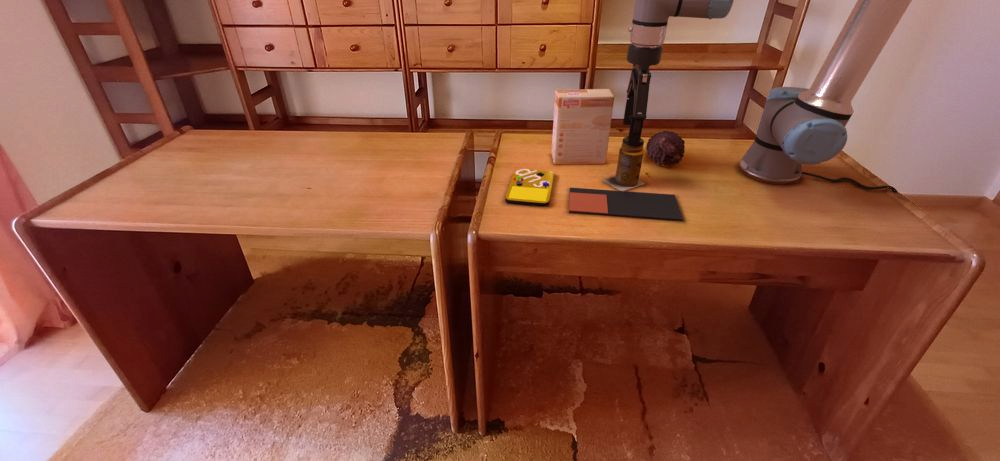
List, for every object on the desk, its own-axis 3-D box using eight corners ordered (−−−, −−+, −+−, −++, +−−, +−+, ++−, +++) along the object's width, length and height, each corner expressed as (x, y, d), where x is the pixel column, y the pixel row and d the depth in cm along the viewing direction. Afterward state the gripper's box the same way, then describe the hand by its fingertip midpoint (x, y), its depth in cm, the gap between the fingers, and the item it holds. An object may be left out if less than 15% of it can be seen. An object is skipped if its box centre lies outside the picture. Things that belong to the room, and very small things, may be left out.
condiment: (645, 183, 126) (653, 140, 119) (622, 192, 122) (629, 148, 115) (624, 173, 131) (631, 131, 124) (602, 181, 127) (607, 138, 120)
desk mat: (674, 196, 120) (674, 193, 119) (682, 221, 110) (683, 218, 109) (569, 189, 123) (570, 186, 122) (568, 213, 113) (569, 210, 112)
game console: (550, 207, 115) (550, 202, 114) (504, 203, 116) (504, 198, 115) (554, 174, 130) (554, 169, 129) (513, 171, 131) (513, 167, 130)
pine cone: (629, 151, 143) (647, 121, 141) (656, 166, 146) (674, 137, 143) (654, 160, 126) (675, 126, 124) (683, 177, 129) (704, 144, 127)
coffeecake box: (600, 154, 142) (609, 88, 131) (606, 164, 136) (615, 96, 125) (550, 154, 141) (555, 88, 131) (553, 165, 135) (558, 96, 125)
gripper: (624, 33, 118) (612, 116, 130) (634, 56, 97) (618, 153, 109) (655, 34, 117) (640, 117, 129) (672, 58, 97) (652, 155, 108)
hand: (630, 134), depth 119 cm, fingers open, 13 cm apart
